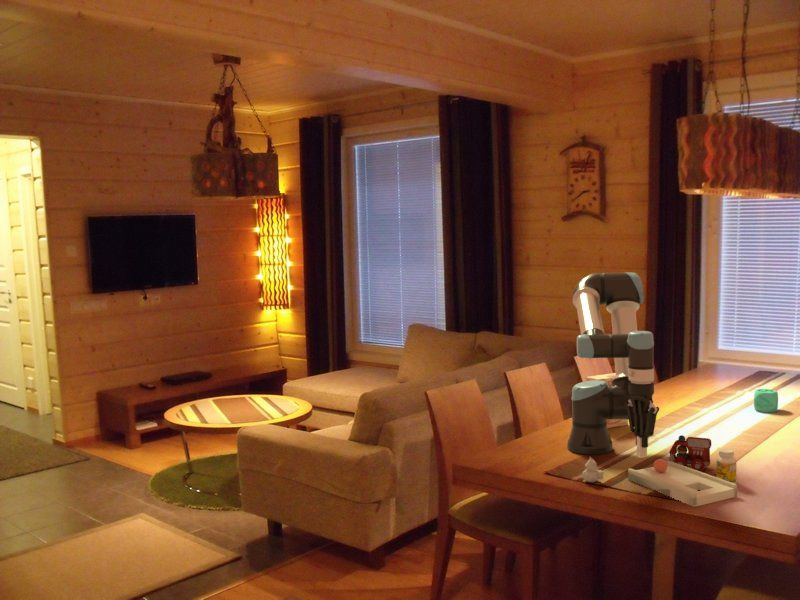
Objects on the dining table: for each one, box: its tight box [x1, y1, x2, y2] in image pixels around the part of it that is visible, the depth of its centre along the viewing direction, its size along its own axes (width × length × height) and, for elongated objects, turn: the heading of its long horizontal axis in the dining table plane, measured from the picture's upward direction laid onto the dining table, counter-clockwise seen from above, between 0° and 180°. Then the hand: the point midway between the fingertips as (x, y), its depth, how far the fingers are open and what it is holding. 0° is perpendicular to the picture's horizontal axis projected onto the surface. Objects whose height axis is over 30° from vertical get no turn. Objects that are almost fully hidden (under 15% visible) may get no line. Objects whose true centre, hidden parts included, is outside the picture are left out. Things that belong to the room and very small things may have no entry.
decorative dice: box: [753, 388, 779, 413], centre depth 308 cm, size 8×8×8 cm
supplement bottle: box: [716, 448, 737, 484], centre depth 225 cm, size 5×5×10 cm
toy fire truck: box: [669, 434, 712, 472], centre depth 239 cm, size 7×12×10 cm, turn 57°
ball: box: [653, 458, 668, 473], centre depth 229 cm, size 4×4×4 cm
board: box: [627, 459, 738, 508], centre depth 222 cm, size 26×16×4 cm, turn 25°
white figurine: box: [581, 456, 605, 483], centre depth 230 cm, size 5×7×8 cm
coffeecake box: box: [585, 372, 629, 429], centre depth 293 cm, size 15×7×20 cm, turn 114°
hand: (641, 456), depth 236 cm, fingers closed
